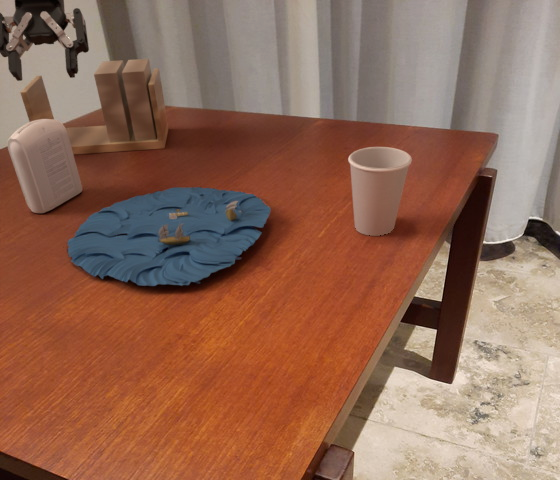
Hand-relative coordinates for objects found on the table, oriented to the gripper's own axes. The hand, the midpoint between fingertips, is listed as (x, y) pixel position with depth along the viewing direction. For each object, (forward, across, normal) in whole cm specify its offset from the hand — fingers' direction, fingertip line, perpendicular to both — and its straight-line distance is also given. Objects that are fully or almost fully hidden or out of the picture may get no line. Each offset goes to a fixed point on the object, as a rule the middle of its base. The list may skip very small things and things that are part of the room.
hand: (44, 76), depth 90 cm
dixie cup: (+32, +49, -9) cm, 59 cm away
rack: (0, +4, +22) cm, 23 cm away
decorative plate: (+31, +20, -9) cm, 38 cm away
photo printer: (+20, 0, +3) cm, 20 cm away
